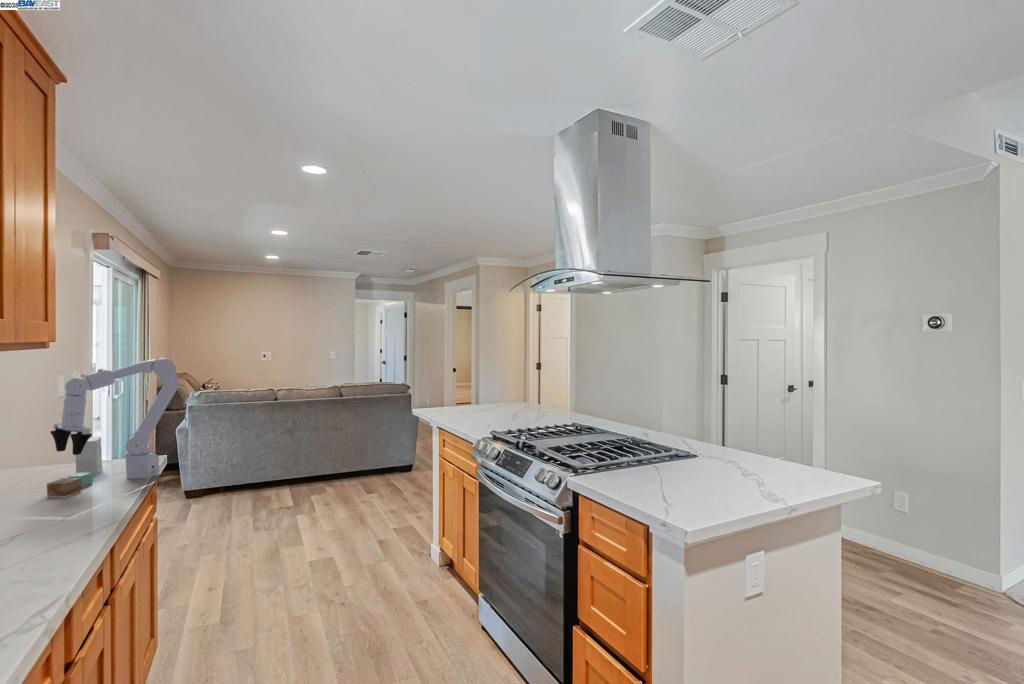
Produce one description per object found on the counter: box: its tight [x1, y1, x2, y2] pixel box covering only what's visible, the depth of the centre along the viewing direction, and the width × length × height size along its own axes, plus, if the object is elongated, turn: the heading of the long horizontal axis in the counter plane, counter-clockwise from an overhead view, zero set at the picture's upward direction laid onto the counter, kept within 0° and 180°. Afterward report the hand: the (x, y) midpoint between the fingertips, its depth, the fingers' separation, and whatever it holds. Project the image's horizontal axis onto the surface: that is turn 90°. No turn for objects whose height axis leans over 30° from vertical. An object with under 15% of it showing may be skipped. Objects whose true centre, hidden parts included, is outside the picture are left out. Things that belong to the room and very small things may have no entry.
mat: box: [44, 488, 85, 498], centre depth 169 cm, size 16×9×1 cm, turn 88°
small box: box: [75, 436, 103, 476], centre depth 193 cm, size 8×6×13 cm
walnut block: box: [46, 477, 83, 497], centre depth 169 cm, size 6×6×4 cm
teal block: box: [67, 472, 93, 488], centre depth 177 cm, size 4×4×4 cm
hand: (68, 452), depth 177 cm, fingers open, 7 cm apart
